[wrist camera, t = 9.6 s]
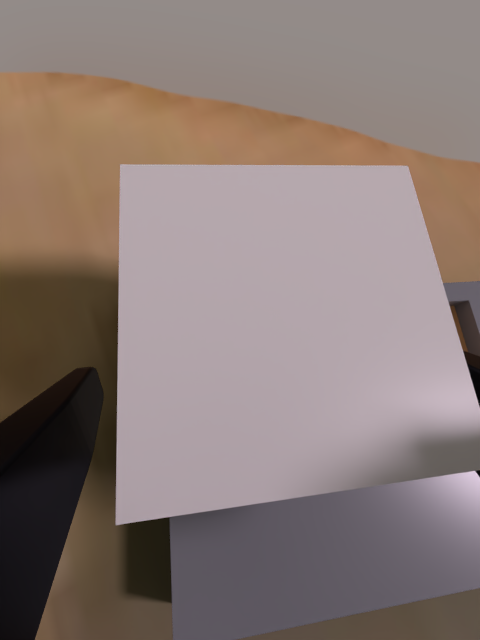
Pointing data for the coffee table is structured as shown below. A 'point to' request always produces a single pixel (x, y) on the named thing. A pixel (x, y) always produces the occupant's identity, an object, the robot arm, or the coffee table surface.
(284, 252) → the pale grey block
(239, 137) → the coffee table surface
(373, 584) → the socket plate
